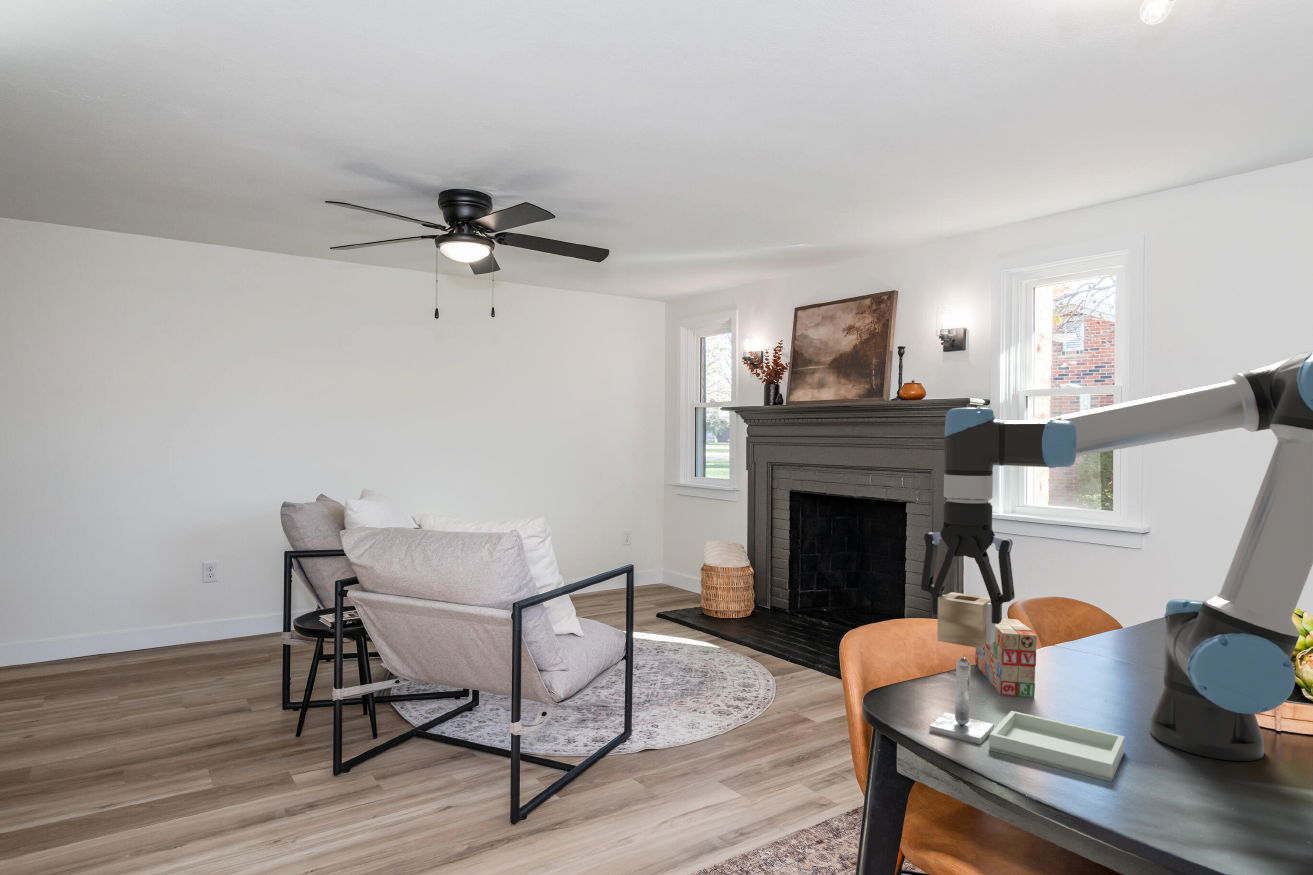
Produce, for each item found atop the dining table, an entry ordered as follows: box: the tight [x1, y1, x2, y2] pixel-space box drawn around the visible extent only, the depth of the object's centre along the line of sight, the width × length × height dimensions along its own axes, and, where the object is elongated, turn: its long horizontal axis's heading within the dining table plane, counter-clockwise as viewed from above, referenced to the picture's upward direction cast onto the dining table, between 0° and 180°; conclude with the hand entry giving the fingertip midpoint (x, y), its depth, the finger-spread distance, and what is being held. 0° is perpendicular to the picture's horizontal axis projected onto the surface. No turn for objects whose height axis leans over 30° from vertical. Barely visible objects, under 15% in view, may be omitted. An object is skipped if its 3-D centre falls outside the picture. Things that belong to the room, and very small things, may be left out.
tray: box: [988, 710, 1126, 783], centre depth 120 cm, size 17×14×2 cm
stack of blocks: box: [974, 618, 1038, 699], centre depth 155 cm, size 21×6×12 cm, turn 170°
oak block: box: [937, 591, 991, 649], centre depth 127 cm, size 7×7×7 cm
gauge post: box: [929, 657, 995, 745], centre depth 127 cm, size 8×8×12 cm
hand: (965, 638), depth 127 cm, fingers closed on oak block, 7 cm apart
